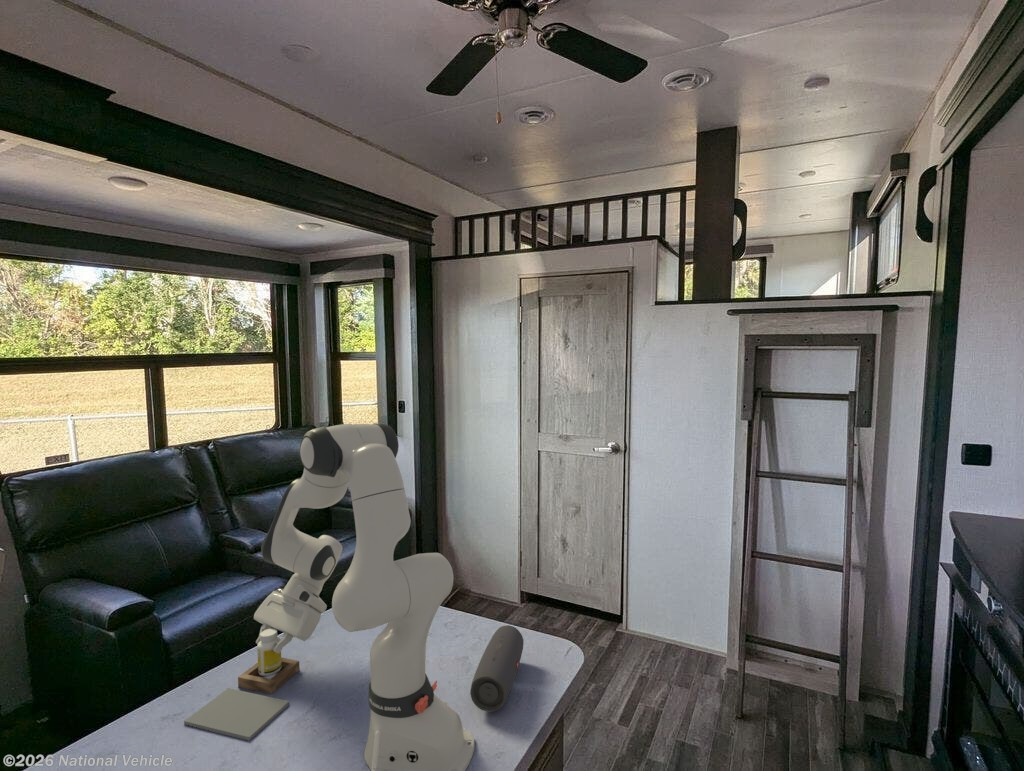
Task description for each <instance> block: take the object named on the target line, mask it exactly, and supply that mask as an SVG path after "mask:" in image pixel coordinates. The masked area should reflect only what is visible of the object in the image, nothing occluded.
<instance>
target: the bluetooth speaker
mask: <svg viewBox="0 0 1024 771" xmlns="http://www.w3.org/2000/svg"><path fill="white" fill-rule="evenodd" d="M523 650H524V637H523V635H522V633H521V632H520V631H519V629H518V628H517V627H515V626H512V625H509V624H508V625H507V624H505V625H502V626H500V627H498V629H496V631H494V633H493V634H492V637H491V638H490V640H489V641H488V643H487V646H486V647H485V650H484V652H483V653H482V656H481V658H480V660H479V663H478V666H477V668H476V670H475V674H474V676H473V678H472V682H471V686H470V698H471V700H472V702H473V704H474V705H475V707H476V708H478V709H480V710H481V711H484V712H497V711H499V710H500V709H501V708H502V707H503V706H504V704H505V703H506V702H507V699H508V698H509V695H510V691H511V689H512V687H513V684H514V681H515V679H516V676H517V673H518V669H519V665H520V662H521V659H522V654H523Z"/></svg>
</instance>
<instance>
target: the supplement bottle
mask: <svg viewBox="0 0 1024 771" xmlns="http://www.w3.org/2000/svg"><path fill="white" fill-rule="evenodd" d="M259 634H260V642H259V643H258V644H257V646H256V647H257V648H256V649H257V650H256V651H257V652H256V653H257V663H258V673H259V674H260V675H259V676H261V677H262V676H265V677H266V676H268V677H269V676H272V675H276V674H278V673H279V672H280V669H281V666H282V661H281V657H282V651H281V652H280V653H279V654H278V653H276V652H274V651H272V647H273V646H274V644H275V643H278V642H279V641H280V640H281V638H279V637H278V630H276V629H274V628H272V629H267V630H264V631H263V632H261V633H260V632H259Z"/></svg>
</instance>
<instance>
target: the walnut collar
mask: <svg viewBox="0 0 1024 771" xmlns="http://www.w3.org/2000/svg"><path fill="white" fill-rule="evenodd" d="M281 661H282V666H281V669H280V670H279V671H278V672H277V673H275V674H274V675H273V677H271V678H266V677H262V676H261V675H260V674H259V673H258V662H256V663H255V664H254V665H253V666H251V667H249V668H248V669H247V670H245V671H244V672H243V673H242V674H240V675H239V676H237V686H238V688H241V689H247V690H252V691H255V692H261V693H266V694H270V695H272V694H273V693H274V692H276V691H277V690H279V688H280V687H281V686H283V685H284V684H285V683H286V682H288V681H289V680H290V679H291V678H292V677H294V676H295V675H296V674H297V673H298V672H299V671H300V660H297V659H291V658H287V657H286V658H285V657H282V656H281Z"/></svg>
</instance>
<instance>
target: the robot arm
mask: <svg viewBox="0 0 1024 771" xmlns="http://www.w3.org/2000/svg"><path fill="white" fill-rule="evenodd" d="M398 452H399V439H398V436H397V434H396V432H395V430H394V428H392V426H390V425H389V424H384V423H379V422H377V423H376V422H373V423H355V424H354V423H353V424H352V423H345V424H344V423H342V424H336V425H332V426H327V427H326V426H319V427H315V428H313V429H311V430H307V432H305V433H304V436H303V437H302V439H301V441H300V448H299V454H300V455H299V456H300V460H301V464H302V466H303V473H302V475H301V477H299V478H296V479H295V480H293V481H292V482H291V483H290V484H289V486H287V488H286V489H285V492H283V493H284V494H283V496H282V497H281V499H280V503H279V504H278V507H277V510H276V513H275V515H274V516H273V517H274V518H273V521H272V523H271V525H270V528H269V530H268V531H267V533H266V535H265V537H264V538H263V540H262V542H261V545H260V551H261V552H260V553H261V555H262V558H263V560H264V561H265V562H266V563H269V564H272V565H275V566H278V567H281V568H283V569H285V570H288V571H290V572H292V573H294V574H292V575H291V577H290V579H289V580H288V582H287V584H285V586H284V588H277V589H275V590H272V592H271V593H270V594H269V595H268V596H267V597H266V598H265V599H264V600H263V601H262V602H261V603H260V605H259V606H258V607H257V609H256V610H255V612H254V615H253V620H254V621H256V622H258V623H260V624H262V625H261V626H260V630H259V634H258V637H257V639H256V640H255V644H257V645H258V643H259V642H260V633H261V632H263V631H264V630H267V629H276V630H277V631H279V632H281V633H283V634H282V636H281V637H282V638H280V641H279V642H278V643H275V644H274V646H273V647H272V651H274V652H276V653H278V654H279V653H280V652H281V653H282V650H283V648H284V647H286V646H287V645H288V644H289V643H290V642H291V641H292V640H293V638H295V639H299V640H301V641H303V642H306V641H307V640H309V639H310V638H311V637H312V635H313V633H314V631H315V630H316V628H317V627H318V624H319V622H320V620H321V617H322V614H324V613H325V611H326V610H327V607H328V606H327V604H326V603H325V602H324V600H323V599H322V598H321V597H320V594H321V592H322V590H323V586H324V584H325V582H327V580H328V579H329V578H330V577H331V575H332V573H333V572H334V570H335V568H336V566H337V565H338V562H339V560H340V557H341V555H342V553H343V548H344V547H343V545H342V543H341V542H340V541H339V540H337V538H335V537H334V536H331V535H328V534H322V535H320V536H319V537H318V538H317V537H313V536H312V535H310V534H307V533H304V532H302V531H300V530H299V529H298V528H296V527H295V525H294V522H295V519H296V517H297V514H298V512H299V510H300V509H304V508H305V509H306V508H307V509H312V510H313V509H314V510H315V509H325V508H328V507H332V506H334V505H336V504H337V503H338V502H340V501H341V500H342V499H343V498H344V496H345V495H346V492H347V490H348V487H349V490H350V498H351V501H352V502H351V503H352V509H353V510H352V511H353V518H354V525H355V535H356V539H355V541H356V542H355V549H354V553H353V558H352V560H351V563H350V566H349V568H348V569H347V571H346V572H345V575H344V576H343V577H342V579H341V580H340V581H339V582H338V583H337V586H336V587H335V589H334V591H333V595H332V598H331V600H332V601H331V609H332V614H333V616H334V619H335V621H336V622H337V623H338V625H339V626H340V627H341V628H343V629H344V630H345V631H347V632H349V633H352V632H360V631H365V630H372V629H375V628H378V627H380V626H383V625H385V627H384V628H383V629H382V630H381V631H380V633H379V634H378V635H377V636H376V637H375V639H374V640H373V642H372V645H371V647H370V652H369V664H370V665H369V666H370V667H369V668H370V682H369V683H368V684H369V685H368V706H369V708H370V718H369V728H368V736H367V740H366V745H365V748H364V752H363V754H364V755H363V758H364V761H365V764H366V765H367V766H368V768H369V770H370V771H466V770H467V769H468V766H469V765H470V763H471V760H472V759H473V755H474V752H475V746H476V745H475V744H476V743H475V738H474V734H473V733H471V732H469V731H467V730H464V728H463V727H464V726H463V723H462V720H461V717H460V715H459V713H458V712H456V711H455V710H454V709H453V708H451V707H450V706H449V704H448V703H446V701H443V700H442V699H441V698H440V697H438V696H437V695H436V694H435V690H436V689H437V686H438V684H437V683H438V680H435V681H434V683H433V684H432V685H431V681H430V680H429V677H428V675H427V673H426V655H427V654H426V653H427V642H428V641H427V640H428V636H429V632H430V629H431V626H432V623H433V620H434V618H435V616H436V614H437V612H438V611H439V608H440V607H441V605H442V603H443V602H444V601H445V599H446V598H447V597H448V596H449V595H450V593H451V591H452V589H453V587H454V572H453V571H454V570H453V567H452V565H451V563H450V562H449V560H448V559H447V558H446V557H445V556H444V555H443V554H442V553H441V552H440V553H439V552H424V553H417V554H413V555H410V556H407V557H404V558H403V557H402V558H400V559H397V560H394V554H395V553H394V552H395V549H396V546H397V544H398V542H400V541H401V540H402V539H403V538H404V537H405V536H406V534H407V533H408V532H409V530H410V528H411V521H412V520H411V516H410V510H409V505H408V500H407V495H406V491H405V485H404V482H403V476H402V473H401V470H400V468H399V464H398V461H397V460H396V458H397V455H398Z"/></svg>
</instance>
